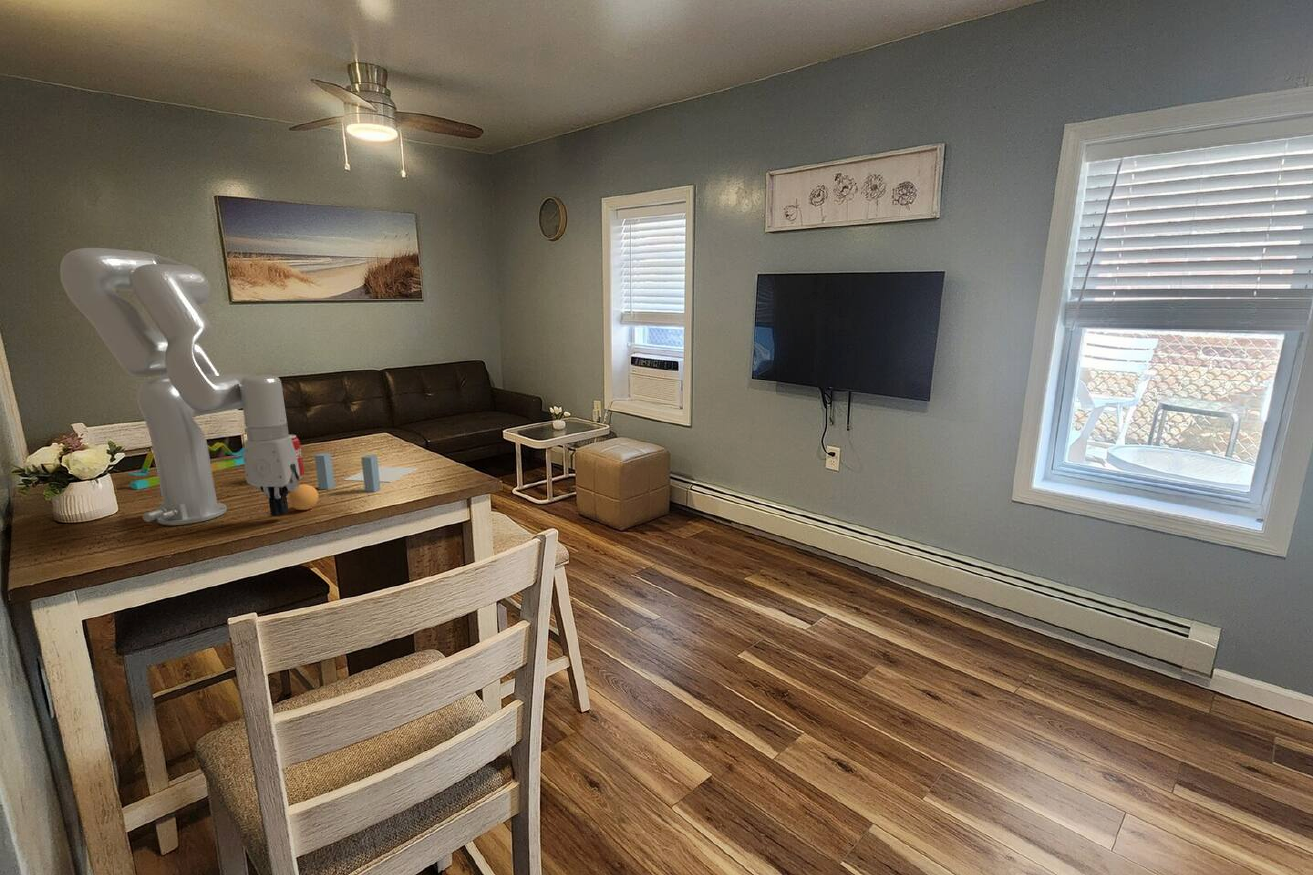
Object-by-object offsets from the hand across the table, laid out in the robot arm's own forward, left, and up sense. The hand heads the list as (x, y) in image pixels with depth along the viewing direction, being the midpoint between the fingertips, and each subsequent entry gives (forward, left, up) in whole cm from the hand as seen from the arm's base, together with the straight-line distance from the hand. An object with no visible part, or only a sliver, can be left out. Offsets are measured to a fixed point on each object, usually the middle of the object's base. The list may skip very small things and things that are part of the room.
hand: (280, 514), depth 134 cm
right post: (+24, -6, -2) cm, 25 cm away
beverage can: (+30, +22, -2) cm, 37 cm away
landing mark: (+38, 0, -2) cm, 38 cm away
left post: (+24, +7, -2) cm, 24 cm away
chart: (+30, +53, -2) cm, 61 cm away
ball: (+8, 0, +2) cm, 8 cm away
